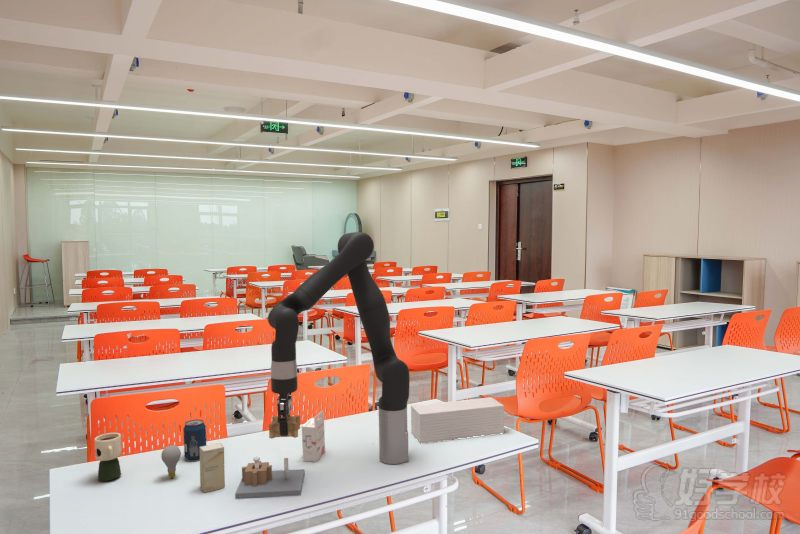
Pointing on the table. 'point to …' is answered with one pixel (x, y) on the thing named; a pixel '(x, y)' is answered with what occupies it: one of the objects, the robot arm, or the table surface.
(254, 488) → the gear board
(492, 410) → the stack of papers
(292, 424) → the oak gear
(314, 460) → the ink cartridge box
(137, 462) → the table surface
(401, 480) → the table surface
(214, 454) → the skincare box
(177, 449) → the light bulb
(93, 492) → the table surface
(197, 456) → the soda can
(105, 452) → the character mug
